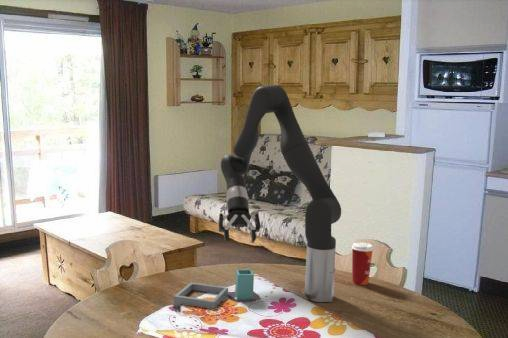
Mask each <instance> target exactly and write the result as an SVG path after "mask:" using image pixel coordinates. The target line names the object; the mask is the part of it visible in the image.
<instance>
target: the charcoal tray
mask: <svg viewBox="0 0 508 338" xmlns="http://www.w3.org/2000/svg"><path fill="white" fill-rule="evenodd" d="M192 291H197V292H204V293H211V294H217V295H216V296H215V297H214V298H213V299H205V298H198V297H191V296H187V295H189V293H191V292H192ZM228 295H229V287H225V286H218V285H212V284H203V283H198V282H197V283H196V282H189V283H188V284H187V285H186V286H184V287H183V288H182V289H181V290H180V291H179V292H177V293H176V294H175V295H173V308H176V309H182V305H187V306H193V307H201V308H206V309H212V310H213V309H215V308H216V307H217V306H218V305H219V304H220V303H221V302H222V301H223V300H224V299H225V298H226V297H228Z"/></svg>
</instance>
